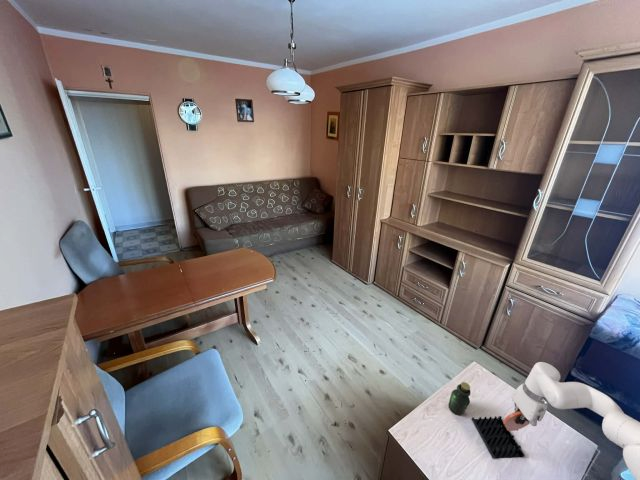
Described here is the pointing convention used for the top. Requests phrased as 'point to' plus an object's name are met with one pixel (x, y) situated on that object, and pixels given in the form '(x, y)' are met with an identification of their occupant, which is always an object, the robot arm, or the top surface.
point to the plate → (510, 422)
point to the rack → (497, 438)
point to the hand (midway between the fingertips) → (517, 420)
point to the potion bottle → (460, 399)
